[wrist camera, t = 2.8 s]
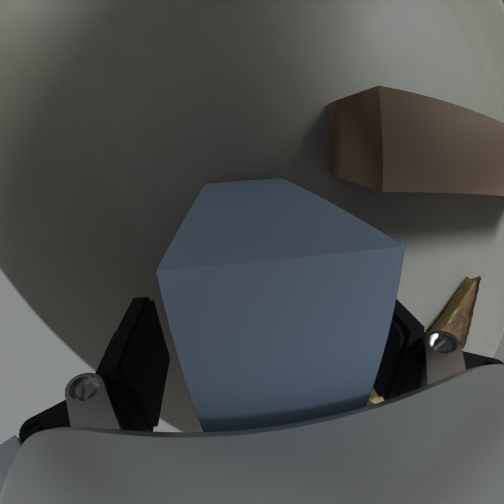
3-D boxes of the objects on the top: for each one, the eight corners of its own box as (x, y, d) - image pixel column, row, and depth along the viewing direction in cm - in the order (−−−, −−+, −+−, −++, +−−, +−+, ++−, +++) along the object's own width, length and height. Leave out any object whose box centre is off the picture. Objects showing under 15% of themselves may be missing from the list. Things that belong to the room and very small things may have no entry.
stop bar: (327, 104, 10) (378, 86, 6) (517, 144, 11) (560, 153, 7) (331, 176, 11) (382, 192, 7) (516, 187, 12) (558, 201, 8)
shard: (466, 266, 14) (484, 278, 12) (491, 310, 16) (504, 321, 14) (359, 388, 16) (368, 407, 15) (407, 405, 18) (416, 419, 17)
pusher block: (230, 376, 14) (240, 513, 7) (205, 183, 10) (156, 271, 3) (285, 369, 14) (321, 501, 7) (282, 177, 11) (404, 246, 3)
